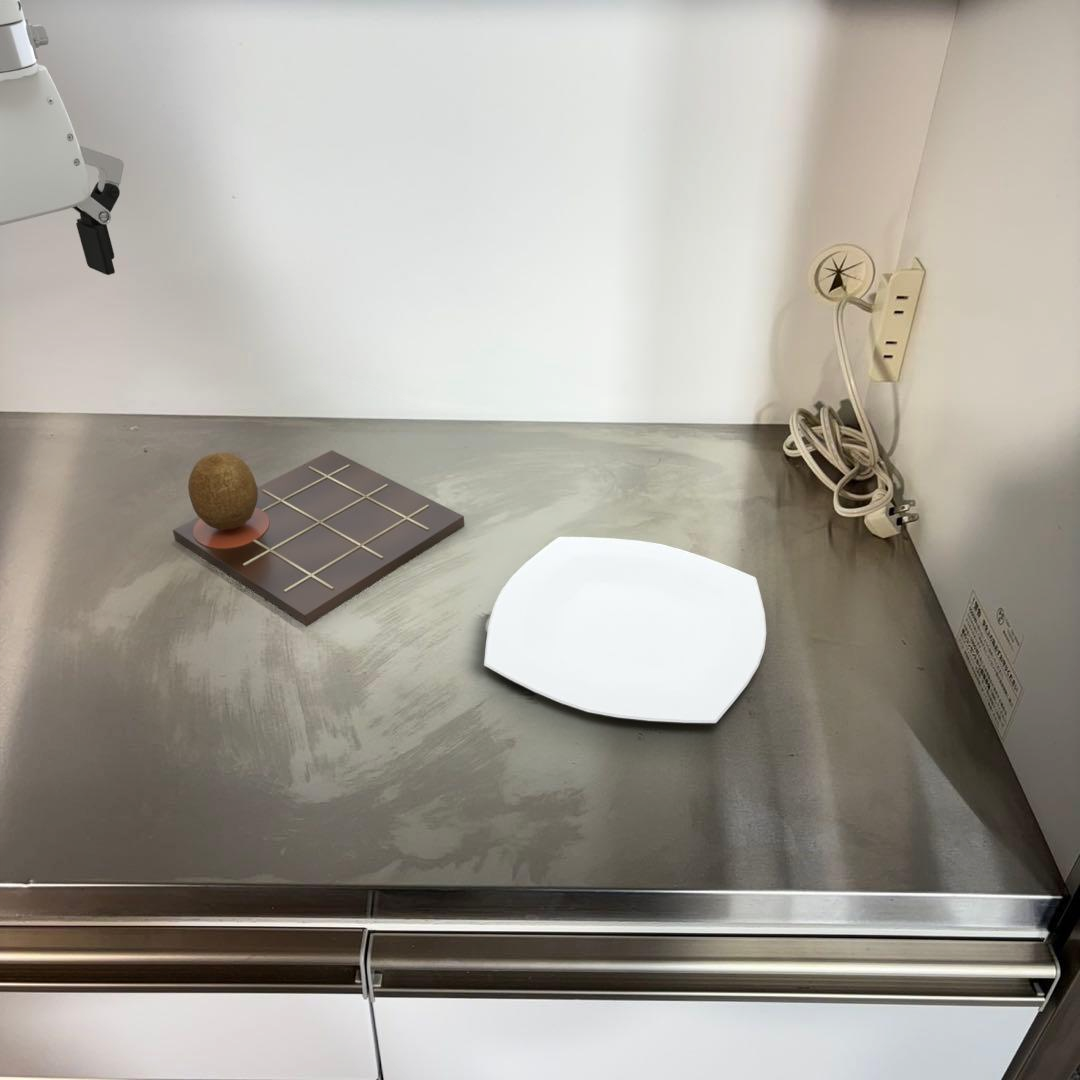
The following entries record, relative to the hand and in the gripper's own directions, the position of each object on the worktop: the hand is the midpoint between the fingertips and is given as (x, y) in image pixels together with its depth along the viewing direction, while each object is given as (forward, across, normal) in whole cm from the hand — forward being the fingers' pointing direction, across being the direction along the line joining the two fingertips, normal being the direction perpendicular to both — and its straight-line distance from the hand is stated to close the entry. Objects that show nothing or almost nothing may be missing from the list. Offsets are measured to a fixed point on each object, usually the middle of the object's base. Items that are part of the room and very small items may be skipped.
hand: (46, 287), depth 78 cm
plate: (+26, -21, +44) cm, 55 cm away
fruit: (+25, -8, +6) cm, 27 cm away
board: (+26, -14, +12) cm, 32 cm away
